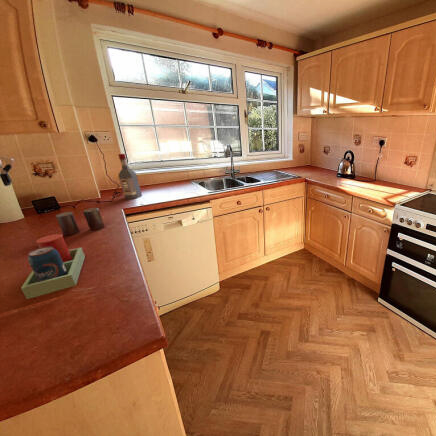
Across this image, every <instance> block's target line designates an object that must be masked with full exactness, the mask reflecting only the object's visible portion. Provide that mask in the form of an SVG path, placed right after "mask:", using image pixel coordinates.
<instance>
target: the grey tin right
mask: <svg viewBox="0 0 436 436" xmlns="http://www.w3.org/2000/svg"><path fill="white" fill-rule="evenodd" d="M82 212H83V215H84V218H85V221H86V223H87V226H88V229H89V231H90V232H94V231H100V230H102V229H104V228H105V227H106V226H105V223H104V221H103V218H102V216H101V215H102V214H101V211H100V209H99V207H90V208H86V209H84V210H82Z"/></svg>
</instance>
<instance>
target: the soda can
mask: <svg viewBox="0 0 436 436" xmlns="http://www.w3.org/2000/svg"><path fill="white" fill-rule="evenodd" d="M27 255H28V256H27V262H28V264H29V266H30V267H31V269H32V270H33V272H34V274H35V276H36V278H37V280H38V281H39V282H41V281H45V280H49V279H53V278H56V277H60V276H64V275H68V273H67V270H66V268H65V266H64V264H63V262H62V259H61V257H60V255H59V253H58V251H57V250H56V249H54V248H53V247H52V246H46V247H41V248H39V247H38V248H35V249H33V250H31V251H29V252H28V253H27ZM32 270H31V271H32Z"/></svg>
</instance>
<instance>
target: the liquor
mask: <svg viewBox="0 0 436 436" xmlns="http://www.w3.org/2000/svg"><path fill="white" fill-rule="evenodd" d="M118 159H119V161H120V164H121V170H120V171H119V173H118V179H119V182H120V186H121V189H122V192H123V196H124V198H125V199H126V200H134V199H138V198H141V197H142V196H143V195H142V190H141V186H140V182H139V179H138V175H137V173H136V171H134V170H133V169H132V168H130V167H129V165H128V162H127V158H126V154H125V153H118Z"/></svg>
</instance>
